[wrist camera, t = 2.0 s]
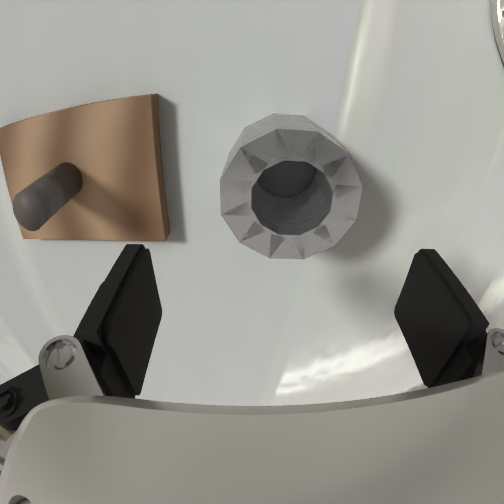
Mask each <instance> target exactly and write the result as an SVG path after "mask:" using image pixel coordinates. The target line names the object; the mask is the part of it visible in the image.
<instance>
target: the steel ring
mask: <svg viewBox="0 0 504 504" xmlns="http://www.w3.org/2000/svg"><path fill="white" fill-rule="evenodd" d="M284 160H285V161H303V162H308V163H309V164H311V165H312V166H314V167H316V170H315V178H314V179H313V181H312V182H311V183H310V185H309V186H308V187H307V189H306V190H305V191H303V192H300V193H298V194H296V195H294V196H292V197H281V196H273V195H272V194H270V193H268V192H267V191H265V190H263V189H261V187H260V186H259V184H258V182H257V179H258V178H259V176H260V175H261V173H262V172H263V170H265V169H267V168H269V167H271V166H273V165H275V164H278V163H280V162H282V161H284ZM362 188H363V186H362V184H361V181H360V178H359V176H358V173H357V171H356V168H355V166H354V163H353V161H352V159H351V156H350V154H349V153H348V152H347V151H346V150H345V149H344V148H343V147H342V146H341V145H340V144H339V143H338V142H337V141H336V140H335V139H334V138H333V137H332V136H331V135H330V134H329V133H328V132H326V131H325V130H323V129H322V128H320V127H319V126H317V125H316V124H314V123H313V122H311V121H310V120H308V119H307V118H305V117H304V116H296V115H279V114H272V115H270V116H268V117H266V118H264V119H262V120H260V121H258V122H256V123H254V124H252V125H250V126H248V127H246V128H245V129H244V130H243V132H242V134H241V135H240V137H239V138H238V140H237V142H236V143H235V145H234V146H233V148H232V150H231V151H230V153H229V156H228V159H227V161H226V164H225V167H224V170H223V173H222V176H221V179H220V195H221V215H222V217H223V218H224V220H225V221H226V223H227V224H228V226H229V227H230V229H231V230H232V232H233V233H234V235H235V236H236V238H237V239H238V241H239V242H240V243H241V244H243V245H245V246H247V247H249V248H251V249H253V250H255V251H257V252H259V253H261V254H263V255H265V256H266V257H268V258H283V259H305V258H307V257H310V256H312V255H314V254H317V253H319V252H321V251H324V250H326V249H328V248H331V247H333V246H335V245H336V244H337V242H338V241H339V240H340V239H341V238H342V237H343V235H344V234H345V233H346V232H347V231H348V230H349V228H350V227H351V226H352V225H353V224H354V222H355V221H356V220H357V215H358V210H359V205H360V199H361V194H362Z"/></svg>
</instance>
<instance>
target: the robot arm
mask: <svg viewBox="0 0 504 504" xmlns="http://www.w3.org/2000/svg"><path fill="white" fill-rule="evenodd" d="M491 16H492V23H493V29H494V34H495V38H496V42H497V46H498V49H499V52H500V55H501V58H502V60H503V63H504V0H491ZM394 314H395V318H396V320H397V322H398V324H399V326H400V329H401V331H402V333H403V335H404V337H405V340H406V342H407V344H408V347H409V349H410V351H411V354H412V356H413V358H414V361H415V363H416V366H417V368H418V371H419V373H420V376H421V378H422V381H423V383H424V385H425V386H428V388H427V389H422V390H417V391H412V392H406V393H401V394H395V395H389V396H382V397H376V398H369V399H361V400H353V401H344V402H333V403H322V404H307V405H287V406H220V405H200V404H185V403H172V402H161V401H151V400H142V399H135V395H140V393H141V390H142V386H143V382H144V378H145V374H146V370H147V367H148V363H149V359H150V356H151V352H152V348H153V345H154V341H155V338H156V334H157V331H158V328H159V324H160V321H161V317H162V307H161V303H160V298H159V294H158V289H157V285H156V280H155V275H154V270H153V265H152V260H151V254H150V251H149V249H145V247H144V245H143V244H127V245H126V246H125V247H124V249H123V251H122V252H121V254H120V256H119V257H118V259H117V261H116V262H115V264H114V266H113V267H112V269H111V271H110V272H109V274H108V276H107V278H106V279H105V281H104V282H103V283H102V284H101V285H100V287H99V289H98V291H97V293H96V294H95V296H94V298H93V300H92V302H91V303H90V305H89V307H88V309H87V311H86V313H85V315H84V317H83V318H82V320H81V322H80V324H79V326H78V328H77V330H76V332H75V334H74V336H69V335H60V336H57V337H54V338H53V339H51V340H49V341H48V342H47V343H46V344H45V345H44V346H43V347H42V349H41V351H40V354H39V365H37V366H35V367H33V368H32V369H30V370H28V371H26V372H24V373H22V374H20V375H18V376H16V377H15V378H13V379H11V380H9V381H7V382H5V383H3V384H1V385H0V504H504V330H502V329H499V328H494V329H491V330H490V331H489V332H488V334H487V333H486V331H485V330H486V328H487V327H488V325H489V322H488V321H487V319H486V318H485V316H484V315H483V313H482V312H481V310H480V309H479V307H478V306H477V304H476V303H475V302H474V300H473V299H472V297H471V296H470V294H469V293H468V292H467V290H466V289H465V288H464V286H463V285H462V283H461V282H460V281H459V279H458V278H457V277H456V275H455V274H454V273H453V272H452V270H451V269H450V268H449V266H448V265H447V264H446V263H445V261H444V260H443V259H442V258H441V256H440V255H439V254H438V253H437V251H436V250H434V249H420V250H419V251H418V253H416V254H415V255H414V258H413V261H412V264H411V266H410V269H409V272H408V275H407V278H406V280H405V283H404V286H403V288H402V291H401V294H400V296H399V299H398V301H397V304H396V306H395V311H394Z"/></svg>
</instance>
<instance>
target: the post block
mask: <svg viewBox="0 0 504 504" xmlns="http://www.w3.org/2000/svg"><path fill="white" fill-rule="evenodd" d="M0 156H1V161H2V165H3V170H4V174H5V178H6V182H7V186H8V190H9V194H10V198H11V201H12V205H13V211H14V215H15V217H16V219H17V221H18V224H19V227H20V230H21V233H22V236H23V239H78V240H131V241H166V239H167V237H168V235H169V233H170V231H169V224H168V216H167V208H166V199H165V190H164V181H163V171H162V160H161V148H160V134H159V119H158V100H157V94H150V95H141V96H133V97H126V98H119V99H113V100H107V101H101V102H96V103H90V104H85V105H80V106H76V107H71V108H67V109H62V110H58V111H54V112H50V113H46V114H43V115H39V116H35V117H32V118H29V119H25V120H22V121H19V122H16V123H12V124H9V125H6V126H4V127H1V128H0Z"/></svg>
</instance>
